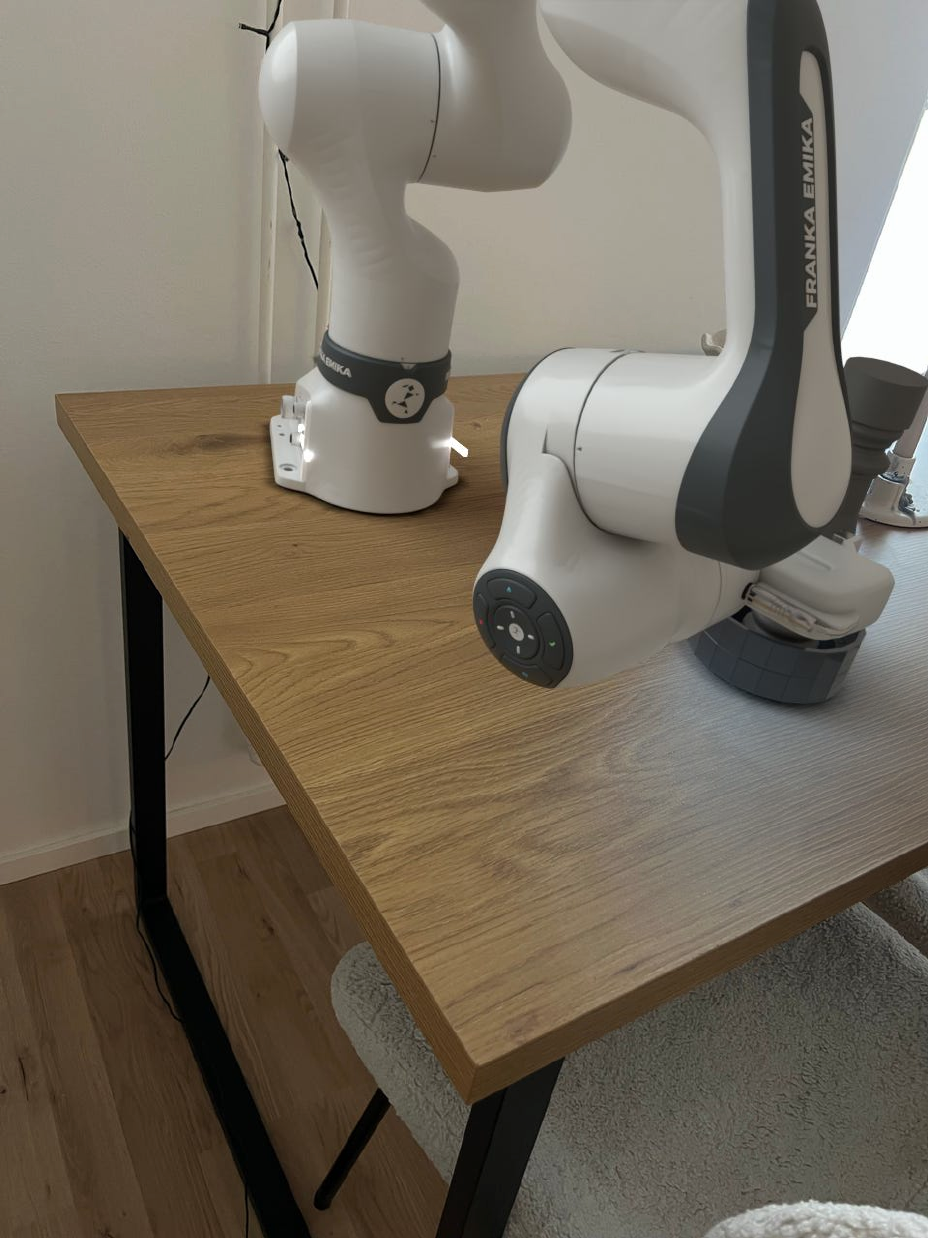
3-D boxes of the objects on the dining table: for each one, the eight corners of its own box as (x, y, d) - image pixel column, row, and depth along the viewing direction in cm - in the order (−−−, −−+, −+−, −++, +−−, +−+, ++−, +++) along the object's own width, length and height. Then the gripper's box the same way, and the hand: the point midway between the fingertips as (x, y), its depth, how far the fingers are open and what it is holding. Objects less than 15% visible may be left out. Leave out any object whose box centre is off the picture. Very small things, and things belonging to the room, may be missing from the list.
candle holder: (820, 682, 82) (953, 388, 68) (762, 691, 79) (888, 388, 66) (772, 639, 86) (887, 356, 73) (715, 646, 84) (824, 354, 70)
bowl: (657, 623, 86) (675, 568, 83) (775, 612, 92) (796, 560, 89) (746, 718, 77) (770, 659, 74) (873, 700, 82) (900, 644, 79)
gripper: (852, 595, 56) (947, 540, 65) (574, 450, 67) (689, 420, 76) (812, 686, 59) (908, 621, 68) (553, 534, 70) (666, 495, 79)
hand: (791, 514), depth 72 cm, fingers open, 8 cm apart
